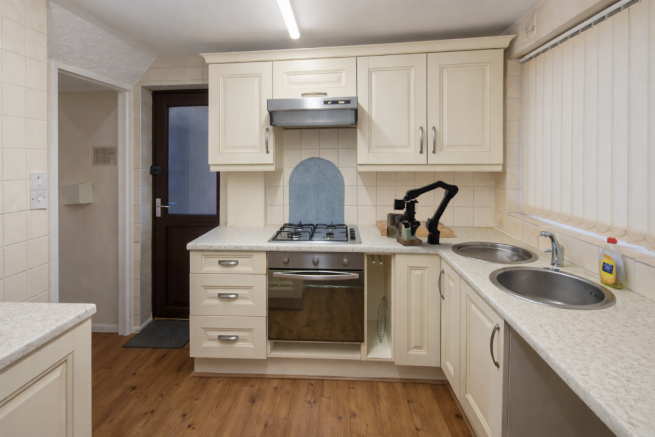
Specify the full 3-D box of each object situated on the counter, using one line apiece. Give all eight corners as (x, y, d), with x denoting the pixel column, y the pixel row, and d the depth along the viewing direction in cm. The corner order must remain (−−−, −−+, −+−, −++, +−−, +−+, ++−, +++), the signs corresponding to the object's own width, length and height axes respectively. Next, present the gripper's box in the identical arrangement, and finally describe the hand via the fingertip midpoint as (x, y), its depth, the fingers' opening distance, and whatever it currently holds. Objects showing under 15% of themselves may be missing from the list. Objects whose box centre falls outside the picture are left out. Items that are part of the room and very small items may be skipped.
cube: (411, 237, 228) (412, 228, 227) (415, 239, 222) (416, 230, 221) (402, 237, 227) (403, 228, 226) (406, 239, 221) (406, 230, 220)
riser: (414, 240, 232) (414, 236, 231) (421, 245, 220) (422, 240, 220) (396, 241, 230) (396, 236, 229) (403, 245, 218) (403, 241, 218)
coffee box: (402, 237, 243) (403, 213, 241) (398, 238, 238) (399, 214, 235) (389, 235, 248) (390, 212, 245) (386, 237, 243) (386, 213, 240)
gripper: (392, 208, 229) (392, 232, 232) (403, 212, 211) (402, 238, 214) (409, 208, 231) (408, 231, 234) (421, 212, 213) (420, 237, 215)
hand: (409, 234), depth 224 cm, fingers open, 9 cm apart
